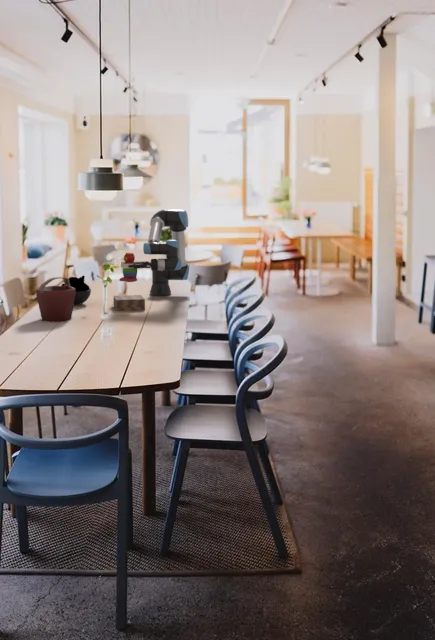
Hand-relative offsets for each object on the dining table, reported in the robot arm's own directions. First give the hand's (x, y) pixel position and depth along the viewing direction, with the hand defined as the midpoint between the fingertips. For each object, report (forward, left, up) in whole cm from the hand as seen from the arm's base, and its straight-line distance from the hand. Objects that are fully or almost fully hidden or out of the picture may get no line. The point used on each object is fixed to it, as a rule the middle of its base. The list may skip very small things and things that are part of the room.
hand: (122, 265), depth 502 cm
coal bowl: (+14, -32, -28) cm, 45 cm away
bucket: (+52, +6, -28) cm, 60 cm away
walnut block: (-4, +2, -28) cm, 28 cm away
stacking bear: (-4, +2, -10) cm, 11 cm away
